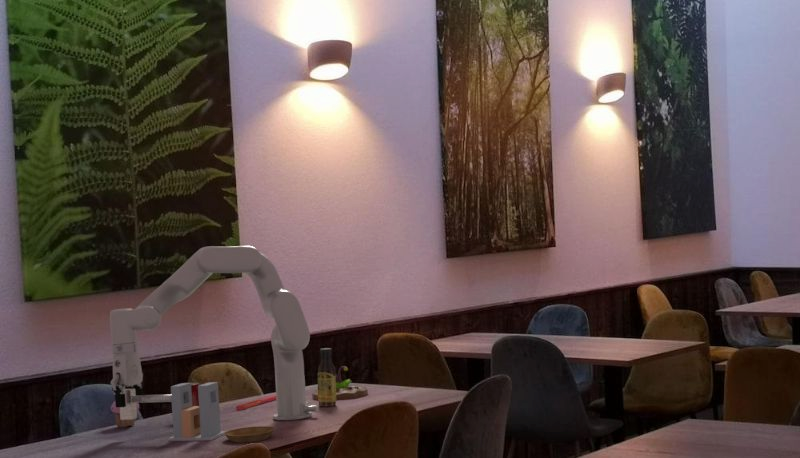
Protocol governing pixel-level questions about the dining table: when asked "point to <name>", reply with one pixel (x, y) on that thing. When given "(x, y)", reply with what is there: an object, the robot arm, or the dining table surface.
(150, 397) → the shaft
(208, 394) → the bearing stand
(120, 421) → the cupcake
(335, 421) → the dining table surface
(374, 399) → the dining table surface
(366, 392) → the plant
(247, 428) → the plant saucer
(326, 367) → the sauce bottle
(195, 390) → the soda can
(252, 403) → the red long bar
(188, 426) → the orange square holed block
